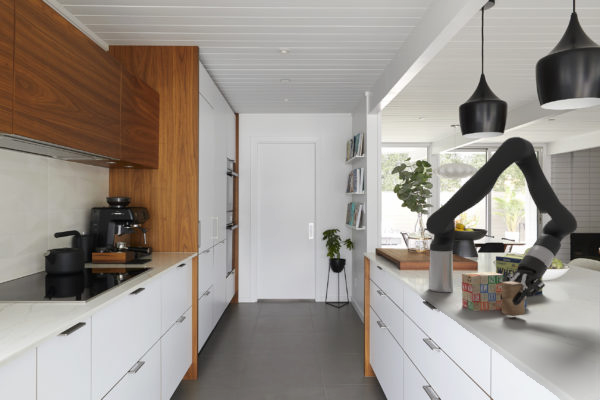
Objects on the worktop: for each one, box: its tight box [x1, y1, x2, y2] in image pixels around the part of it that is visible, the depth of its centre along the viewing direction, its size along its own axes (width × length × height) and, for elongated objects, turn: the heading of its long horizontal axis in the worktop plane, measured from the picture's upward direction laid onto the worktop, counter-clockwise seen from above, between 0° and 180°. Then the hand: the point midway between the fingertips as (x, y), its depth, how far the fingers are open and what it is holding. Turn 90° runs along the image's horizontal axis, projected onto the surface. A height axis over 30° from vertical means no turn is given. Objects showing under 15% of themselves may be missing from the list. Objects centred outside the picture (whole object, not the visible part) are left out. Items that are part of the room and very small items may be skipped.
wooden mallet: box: [492, 281, 526, 317], centre depth 127 cm, size 10×5×10 cm, turn 19°
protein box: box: [495, 253, 543, 298], centre depth 159 cm, size 10×16×16 cm
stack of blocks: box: [461, 271, 527, 312], centre depth 138 cm, size 21×6×12 cm, turn 100°
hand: (508, 301), depth 123 cm, fingers closed on wooden mallet, 4 cm apart
